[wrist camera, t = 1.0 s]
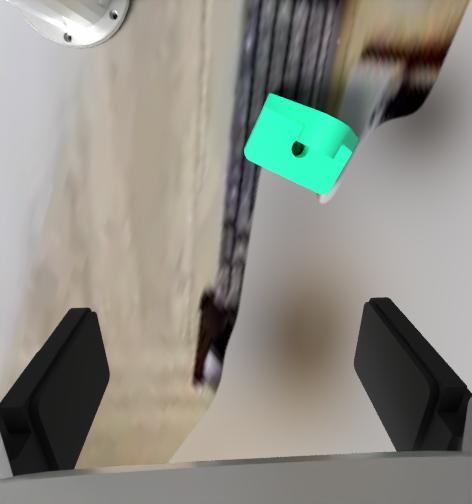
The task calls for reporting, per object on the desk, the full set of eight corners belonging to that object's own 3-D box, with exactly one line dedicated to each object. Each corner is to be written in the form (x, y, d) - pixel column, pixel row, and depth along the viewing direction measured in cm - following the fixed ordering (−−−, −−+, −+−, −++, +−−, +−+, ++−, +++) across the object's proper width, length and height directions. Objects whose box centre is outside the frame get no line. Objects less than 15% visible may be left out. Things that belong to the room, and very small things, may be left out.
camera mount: (240, 154, 42) (246, 167, 32) (267, 94, 39) (282, 89, 30) (320, 192, 44) (347, 215, 35) (351, 138, 41) (389, 147, 32)
